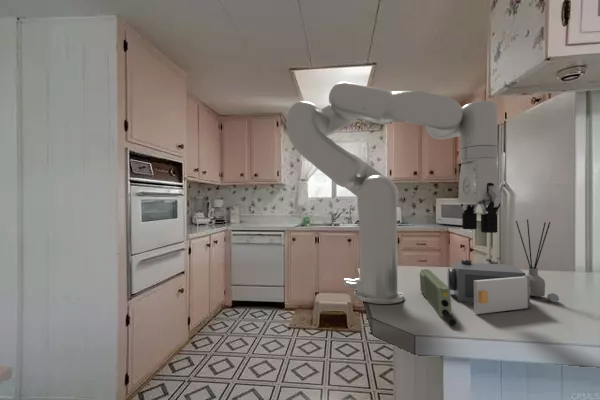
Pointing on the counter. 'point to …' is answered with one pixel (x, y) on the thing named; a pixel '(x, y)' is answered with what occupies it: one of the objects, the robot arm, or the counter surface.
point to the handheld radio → (436, 294)
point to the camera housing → (476, 276)
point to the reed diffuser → (535, 280)
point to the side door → (501, 294)
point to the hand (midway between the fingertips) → (478, 230)
